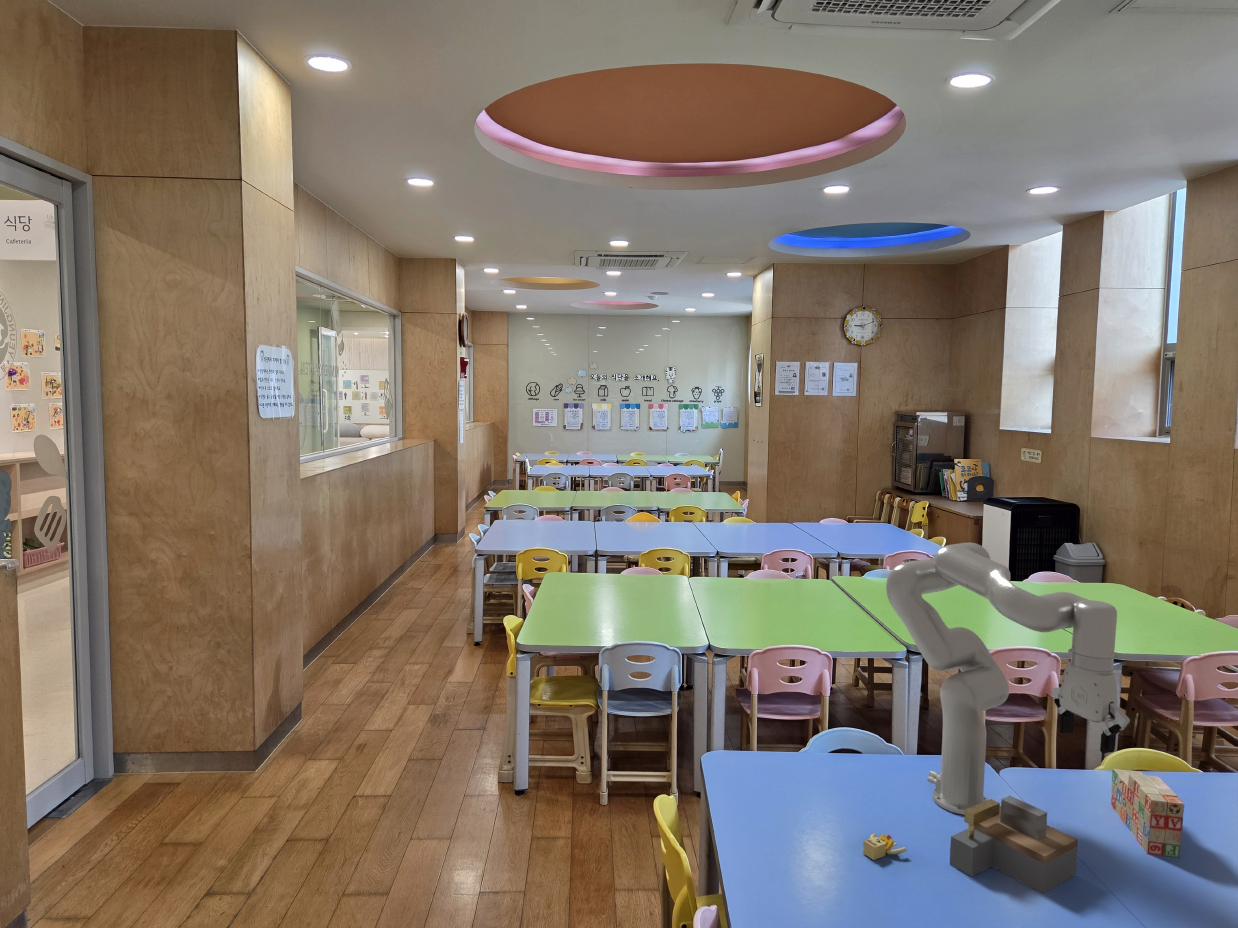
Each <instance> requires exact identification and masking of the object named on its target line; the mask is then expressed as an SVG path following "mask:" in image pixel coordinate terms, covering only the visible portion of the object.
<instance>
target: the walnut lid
mask: <svg viewBox="0 0 1238 928" xmlns="http://www.w3.org/2000/svg"><path fill="white" fill-rule="evenodd" d="M1047 822H1048V812H1047V811H1045V810H1043V809H1042V808H1041V809H1040V808H1038V807H1036V806H1034V805H1031V804H1029V803H1027V802H1025V801H1023V800H1020V799H1019V798H1016V797H1014V796H1011V795H1007V796H1006V797H1003V798H1001V802H1000V810H999V815H997V816H995V817H992V818H990V819H988V820H986V821H983V822H981V823H979V824H977V825H975V829H976V830H978V831H980V832H982V833H984V834H986V835H988V836H990V837H992V838H994V839H996V840H998V841H1000V842H1002V843H1004V844H1006V845H1008V846H1010V847H1012V848H1014V849H1016V850H1018V851H1020V852H1022V853H1024V854H1026V855H1028V856H1030V857H1032V858H1034V859H1036V860H1038V861H1040V862H1042V863H1043V864H1045V863H1047V862H1049V861H1051V860H1053V859H1054V858H1056V857H1058V856H1060V855H1062V854H1064V853H1066V852H1068V851H1070V850H1072V849H1073V848H1075V847H1077V848H1078V841H1079V840H1078V838H1076V837H1074V836H1071V835H1070V834H1068V833H1065V832H1063V831H1061V830H1059V829H1056V828H1054V827H1052V826H1050V825H1048V824H1047Z"/></svg>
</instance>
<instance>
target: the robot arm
mask: <svg viewBox="0 0 1238 928" xmlns="http://www.w3.org/2000/svg"><path fill="white" fill-rule="evenodd" d="M956 586H961V587H963V588H965V589H967V590H969V591H971V592H973V593H975V594H977V595H979V596H980V597H983V598H985V599H986V600H988V601H989V603H990V605H992V607H994V609H995V610H996V611H997V612H998V613H999V614H1001V615H1002V616H1004V617H1005V619H1006V618H1007V619H1008V620H1010V621H1013V622H1014V623H1016V624H1018V625H1021V627H1024V628H1027V629H1029V630H1030V631H1031V630H1032V631H1034V632H1038V633H1050V632H1054V631H1055V632H1056V631H1058V630H1063V629H1072V638H1071V639H1072V640H1071V648H1069V649H1068V651H1067V654H1068V655H1070V661H1068V662H1067V663H1066V665H1065V668H1064V670H1063V671H1064V672H1063V674H1062V680H1061V683H1060V684H1061V685H1060V686H1057V687H1054V688H1053V687H1052V688H1051V693H1052V696H1053V698H1054V700H1053V702H1054V704H1055V706H1056V708H1057V713H1058V714H1059V716H1060V717H1059V730H1058V731H1059V733H1060V734H1068V733H1073V732H1074V726H1075V725H1074V724H1075V722H1074V721H1075V715H1076V716H1079V717H1081V718H1083V719H1086V720H1088V721H1090V722H1093V723H1097V724H1098V723H1099V725H1100V727H1101V729H1102V731H1103V733H1101V735H1100V746H1099V747H1100V749H1099V750H1100V752H1101V753H1102V754H1109V753H1110V754H1111V753H1114V752H1115V750H1116V743H1117V742H1116V740H1117V735H1119V734H1120V733H1122V732H1123V731H1124V730H1126V728H1127V726H1128V725H1129V723H1130V722H1131V719H1130V717H1128V715H1126V714H1125V713H1124V711H1122V710H1121V709H1120V707H1118V684H1117V678H1116V673H1115V672H1114V661H1115V650H1116V649H1115V648H1116V636H1117V635H1116V634H1117V623H1118V621H1117V619H1118V611H1117V608H1116V607H1115V606H1114V605H1112V604H1111V603H1108V602H1105V601H1100V600H1093V599H1088V598H1085V597H1082V596H1079V595H1077V594H1074V593H1072V592H1067V591H1058V592H1053V593H1047V594H1042V595H1037V594H1035V593H1032V592H1030V591H1027V590H1025V589H1022V588H1020V587H1019V586H1017V585H1015V584H1014V583H1012V582H1011V572H1010V570H1009V568H1008V567H1007V566H1005V565H1004V564H1002V563H999V562H997V561H994V560H992V559H991V556H990V553H989V552H988V551H987V549H986V548H985V547H983V546H982V545H981V544H978V543H975V542H960V543H954V544H953V543H952V544H949V545H945V546H943V547H941V548H939V549H938V550H937V551H936V553H935V554H934V556H933V557H931V558H925V559H919V560H917V559H916V560H911V561H906V562H902V563H900V564H898V565H896V566H895V567H894V568H892V569H891V570H890V572H889V574H888V575H887V579H886V584H885V588H886V589H885V590H886V591H885V592H886V596H887V599H888V602H889V604H890V605H891V608H892V609H893V610H894V612H895V613H896V615H897V616H898V617H899V619H900V621H901V622H902V624H903V625H904V627H906V629H907V631H908V633H909V635H910V636H911V638H912V640H913V641H914V643H915V645H916V646H917V647H916V648H918V651H920V654H921V655H922V657H923V658H924V660H925V662H926V663H927V665H928V667H930V668H931V669H932V670H934V671H936V672H947V671H953V670H957V669H959V670H960V672H958V673H957V672H956V673H955V674H953V675H950V676H949V677H947V678H946V679H945V680H944V681H943V682H942V684H941V687H940V691H939V693H940V694H939V695H940V704H941V709H942V735H941V736H942V739H941V740H942V741H941V743H942V744H941V759H940V760H941V761H940V762H941V763H940V773H938V772H936V771H934V770H930V771H929V773H928V777H927V782H929V783H931V784H933V785H935V789H934V790H932V791H933V792H932V800H933V801H934V802H935V803H936V805H938V806H939V807H941V808H942V809H944V810H946V811H949V812H952V813H955V814H959V815H963V816H965V810H966V809H968V808H970V807H973V806H975V805H978V804H980V803H982V802H985V801H987V800H989V799H988V798H987V797H986V796H985V795H984V789H985V788H984V787H985V771H986V770H985V769H986V751H987V750H986V749H987V728H986V725H985V721H984V718H983V712H985V711H987V710H991V709H992V708H996V707H999V706H1001V705H1002V704H1004V703H1005V702H1006V701H1007V699H1008V697H1009V694H1010V689H1009V688H1010V687H1009V683H1008V680H1007V678H1006V676H1005V674H1004V673H1003V671H1002V670H1001V668H1000V667H999V665H998V663H997V661H996V660H995V659H994V657H993V655H992V654H991V652H990V650H989V649H988V648H987V646H986V644H985V643H984V641H983V640H982V639H981V638H980V637H979V635H977V633H976V632H974V631H973V630H972V629H969V628H966V627H962V626H959V627H958V626H957V627H951V628H949V627H948V626H947V624H946V623H945V621H943V619H942V616H941V615H940V613H939V612H938V611H937V610H936V609H935V607H934V606H933V605H932V604H931V603H929V602H928V601H927V600H925V599H924V597H923V595H926V594H932V593H938V592H942V591H947V590H949V589H952V588H954V587H956ZM1115 720H1117V721H1115Z"/></svg>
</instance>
